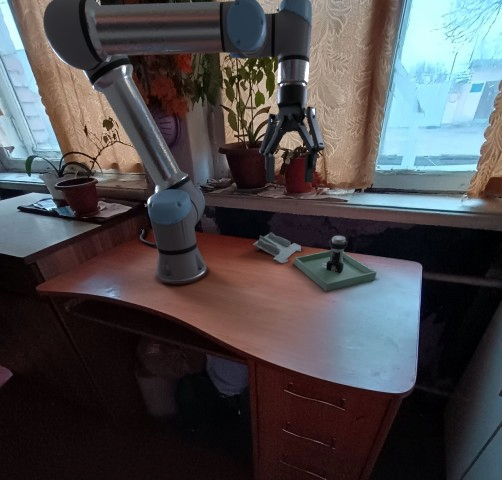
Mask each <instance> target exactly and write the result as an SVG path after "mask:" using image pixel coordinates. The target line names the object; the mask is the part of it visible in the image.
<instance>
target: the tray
mask: <svg viewBox="0 0 502 480" xmlns="http://www.w3.org/2000/svg"><path fill="white" fill-rule="evenodd" d="M340 253H341V250H340ZM333 254H334V253H333ZM330 255H331V249H330V250H325V251H319V252H316V253H311V254H306V255H301V256H296V257H294V262H293V265H294V266H295V267H296V268H298V269H299V270H300V271H301V272H302V273H304V274H305V275H306V276H307V277H309V278H310V279H311V280H313V282H314V283H316V284H317V285H318V286H320V287H321V288H322V289H323V290H324V291H325V292H329V291H333V290H336V289H341V288H345V287H349V286H354V285H357V284H358V285H359V284H362V283H365V282H369V281H373V280H376V275H377V271H376V270H374V269H372V268H371V267H369V266H368V265H366V264H365V263H362V262H361V261H359V260H357V259H356V258H354V257H352V256H351V255H349V254H348V253H346V252H343V258H342V260H343V262H344V268H343V271H342V272H341V273H338V272H332V271H329V270H327V269H326V268H325V267H324V266H326V265H325V264H322V263H327V262H328V261H329V259H330ZM322 266H323V267H322Z"/></svg>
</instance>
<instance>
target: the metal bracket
mask: <svg viewBox="0 0 502 480" xmlns="http://www.w3.org/2000/svg"><path fill="white" fill-rule="evenodd" d="M252 246H254V247H256V251H257V252H259V251H260V250H262V251H264V252H265V253H268V254H270V255H271V256H274V257H273V261H276V262H278V263H279V264H284V263H288V262H289V260H288V258H289V257H291V256H292V255H293V254H294V253H295V252H299V253H300V252H302V246H301V245H300V244H298V243H295V242H293V243H292V244H291V241H290V240H288V239H286V238H284V237H282V236H278V235H276V234H274V233H273V232H271V231H270V232H269V233H268V234H266V235H264V236H262V235H259V239H258V240H257V241H255V242H254V243H253V244H252Z"/></svg>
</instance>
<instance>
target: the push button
mask: <svg viewBox="0 0 502 480" xmlns="http://www.w3.org/2000/svg"><path fill="white" fill-rule="evenodd" d="M328 244H329V245H328V246H329V248H330V250H331V255H330V259H329V261H328V262H327V263H322V264H325V265H326V266H324V267H325V268H326V269H327V270H329V271H332V272H338V273H341V272H342V271H343V268H344V262H343V260H342V258H343V252H344V251H345V249H346V248H347V247H348V244H349V240H347V239H346V236H343V235H334V236H332V238H330V239H329V240H328ZM340 250H341V253H340ZM333 253H334V254H333ZM344 253H345V252H344ZM322 267H323V266H322Z"/></svg>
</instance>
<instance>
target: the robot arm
mask: <svg viewBox="0 0 502 480" xmlns="http://www.w3.org/2000/svg"><path fill="white" fill-rule="evenodd" d="M312 18H313V7H312V2H311V0H281V2H280V4H279V10H278V12H272V13H265V10H264V8H263V7H262V4H260V2H258V0H227V1H195V2H192V1H191V2H165V3H163V2H162V3H135V4H130V3H129V4H103V5H102V4H101V5H100V4H99V3H98V2H97V1H96V0H51V1H50V2H49V3H48V4H47V5H46V7H45V10H44V12H43V18H42V19H43V20H42V23H43V31H44V35H45V38H46V40H47V42H48V44H49V46H50V48H51V49H52V51H53V52H54V54H55V55H56V56H57V57H58V58H59V59H60V60H61V61H62V62H63V63H64V64H66V65H68V67H69V66H70V67H71V68H73V69H76V70H81V71H83V74H84V75H85V77H86V78H87V80H88V82H89V84H90V85H91V87H92V89H93V90H94V91H96V92H99V93H101V94H103V96H104V98H105V100H106V101H107V103H108V105H109V106H110V108H111V109H112V112H113V113H114V115H115V117H116V118H117V120H118V122H119V124H120V125H121V127H122V129H123V130H124V132H125V134H126V136H127V138H128V139H129V141H130V142H131V145H132V146H133V148H134V150H135V151H136V153H137V155H138V156H139V158H140V160H141V162H142V163H143V165H144V167H145V168H146V170H147V172H148V174H149V175H150V177H151V179H152V181H153V182H154V184H155V188H154V193H153V194H152V195H151V196H150V197H148V199H147V211H148V212H147V214H148V217H149V219H150V223H151V229H152V232H153V236H154V240H155V243H153V242H150V241H148V240H145V239H144V238H143V237H144V236H145V234H146V231H145V229H143V230H142V229H141V231H142V233H141V234H140V236H139V240H140V241H141V242H142V243H144V244H146V245H149V246H152V247H156V248H157V252H158V253H157V254H158V255H157V263H156V264H157V265H156V275H157V279H158V281H160V282H161V283H163V284H166V285H170V286H171V285H172V286H180V285H187V284H192V283H195V282H197V281H199V280H201V279H203V278H204V277H205V276H206V275H207V272H208V269H207V264H206V261H205V260H204V258H203V255H202V254H201V252H200V250H199V248H198V242H197V235H196V230H195V227H196V226H197V225H198V222H199V221H200V220H201V219H202V218H203V215H204V213H205V208H206V201H205V197H204V194H203V191H201V189H200V188H199V187H197V186H196V185H195V184H193V181H192V179H191V178H190V175H189V174H188V173H186V172H183V171H181V169H180V167H179V166H178V164H177V161H176V159H175V157H174V156H173V154H172V152H171V150H170V148H169V146H168V144H167V142H166V140H165V138H164V137H163V134H162V133H161V131H160V128H159V127H158V125H157V123H156V122H155V120H154V118H153V115H152V113H151V112H150V110H149V108H148V106H147V104H146V102H145V100H144V98H143V95H142V94H141V92H140V90H139V89H138V86H137V85H136V83H135V80H134V79H133V71H134V67H133V64H132V62H131V60H130V59H129V56H150V55H151V56H153V55H187V54H191V55H192V54H224V53H225V54H229V56H230V58H232V59H239V60H240V59H242V60H246V59H258V58H260V59H261V58H277V81H276V83H277V86H278V88H277V90H276V105H277V108H278V112H277V114H276V113H271V112H270V113H268V117H267V119H268V120H267V125H266V129H265V131H264V134H263V139H262V142H261V145H260V148H259V154H260V155H262V156H264V169H265V171H266V175H265V179H266V180H265V182H266V183H275V178H276V177H275V176H276V175H275V171H276V156H275V155H274V154H275V152H276V150H277V148H278V146H279V145H280V144H281V141H282V139H283V138H284V136H286V134H287V133H292V132H297V133H298V135H299V137H300V139H301V141H302V142H303V144H304V146H305V148H306V149H307V153H305V162H304V177H303V178H304V179H303V181H304V183H313V181H314V169H315V168H316V167H317V159H318V154H319V152H321V151H324V150H325V148H326V147H325V143H324V139H323V136H322V132H321V129H320V125H319V122H318V119H317V107H314V106H311V105H308V106H307V107H306V105H307V104H308V91H309V90H308V87H307V85H308V84H309V74H310V73H309V71H310V57H311V43H312V30H313V29H312V27H313V23H312V22H313V21H312V20H313V19H312ZM305 118H306V121H307V122H305V121H304V120H305ZM306 123H307V125H306ZM308 129H309V130H308ZM309 132H310V133H309Z"/></svg>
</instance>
